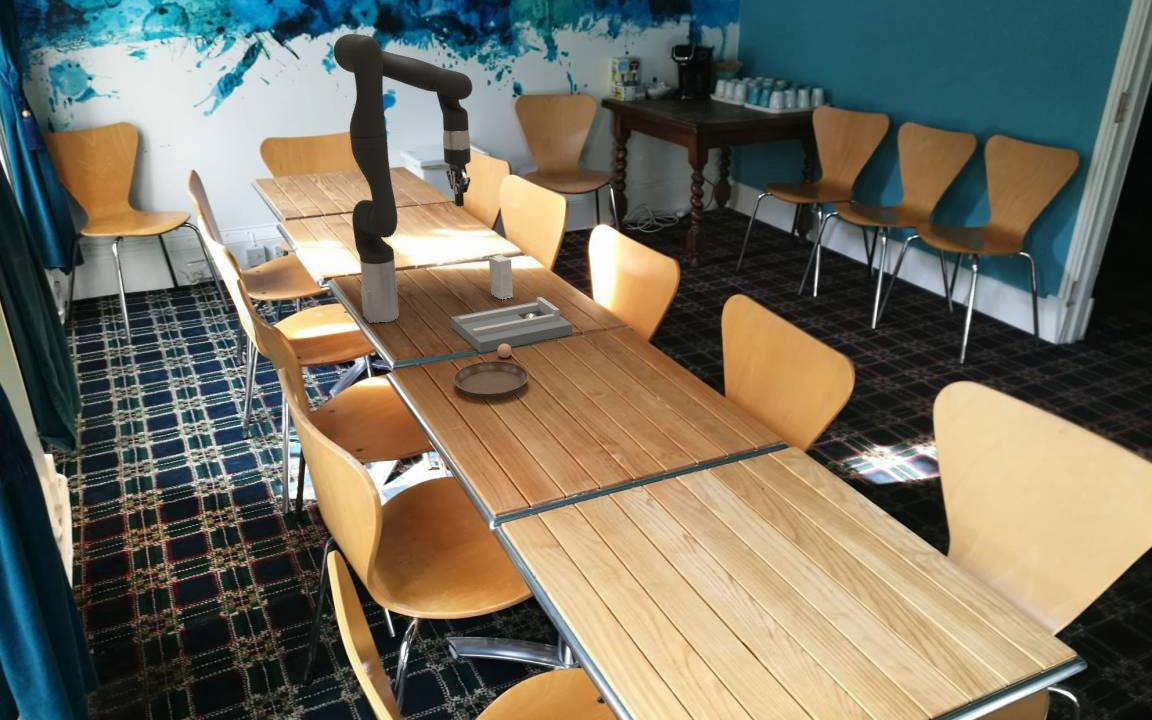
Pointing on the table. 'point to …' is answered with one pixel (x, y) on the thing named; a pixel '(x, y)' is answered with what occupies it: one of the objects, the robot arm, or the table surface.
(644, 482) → the table surface
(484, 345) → the slate board
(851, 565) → the table surface
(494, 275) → the skincare box
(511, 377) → the plant saucer
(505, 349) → the terracotta ball
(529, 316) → the steel ball
